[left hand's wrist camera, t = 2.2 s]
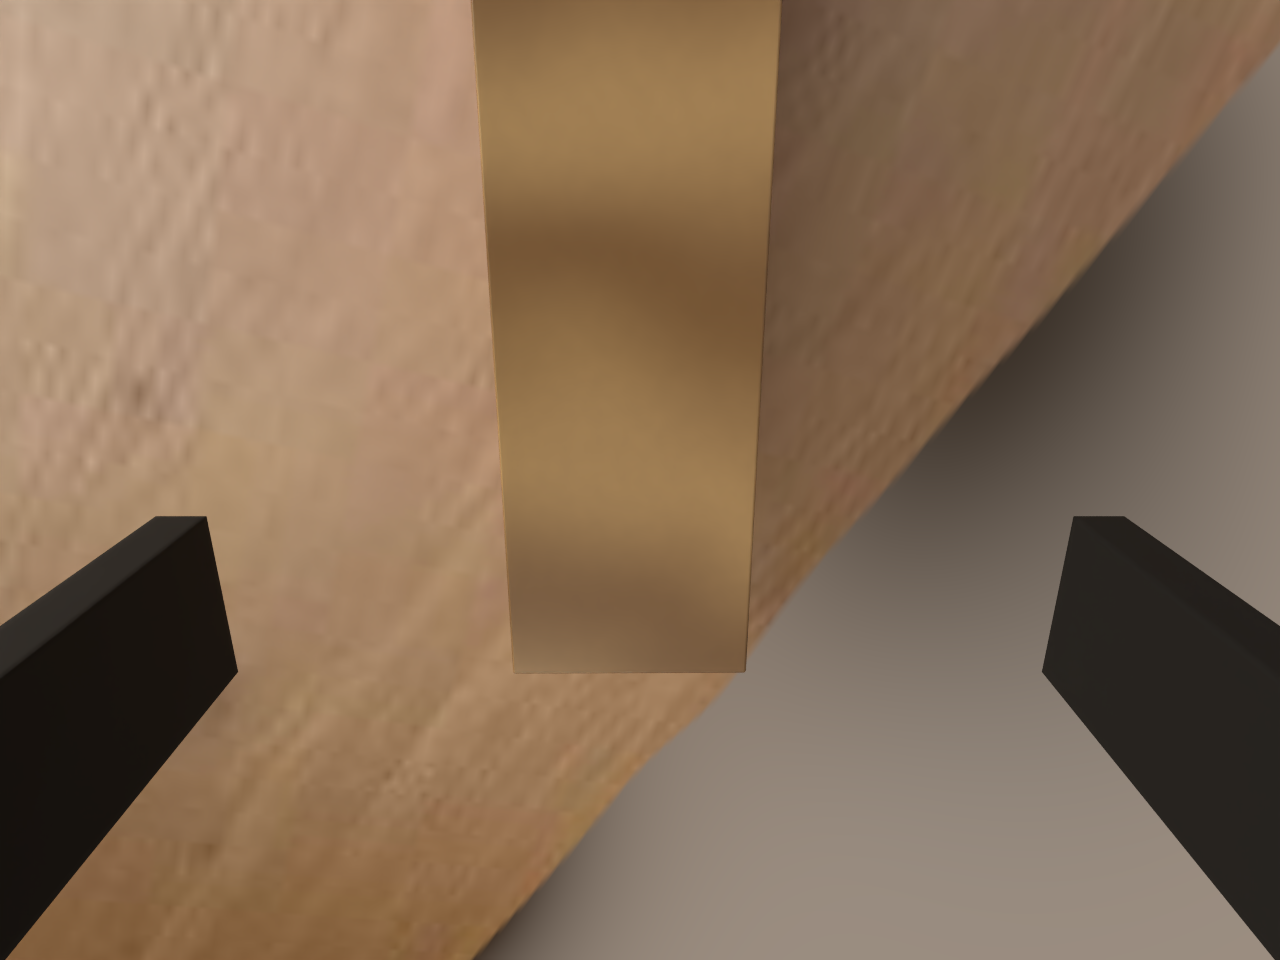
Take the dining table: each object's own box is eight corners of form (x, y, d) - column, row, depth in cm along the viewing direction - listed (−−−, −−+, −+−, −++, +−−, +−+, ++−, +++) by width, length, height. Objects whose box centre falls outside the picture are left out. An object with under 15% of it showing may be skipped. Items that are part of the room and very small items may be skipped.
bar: (711, 522, 26) (745, 673, 18) (549, 523, 26) (513, 674, 18) (749, -562, 17) (847, -1182, 9) (503, -566, 17) (394, -1187, 9)
